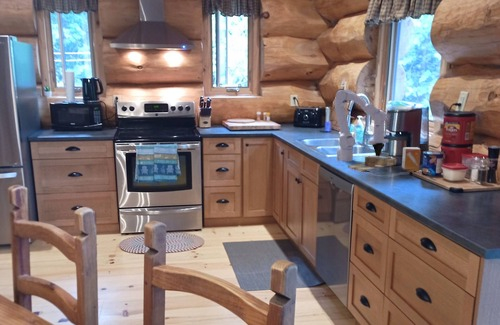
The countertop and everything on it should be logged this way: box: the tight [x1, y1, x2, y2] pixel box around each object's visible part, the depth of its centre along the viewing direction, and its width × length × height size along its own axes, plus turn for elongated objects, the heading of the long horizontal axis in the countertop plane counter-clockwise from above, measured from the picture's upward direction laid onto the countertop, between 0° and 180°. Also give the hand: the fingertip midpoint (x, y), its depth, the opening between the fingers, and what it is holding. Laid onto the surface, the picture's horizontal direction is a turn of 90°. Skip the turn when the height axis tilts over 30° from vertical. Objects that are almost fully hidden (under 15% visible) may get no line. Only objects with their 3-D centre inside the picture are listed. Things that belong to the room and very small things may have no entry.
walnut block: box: [364, 155, 375, 167], centre depth 257 cm, size 4×4×6 cm
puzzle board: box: [347, 155, 397, 173], centre depth 258 cm, size 13×25×5 cm, turn 121°
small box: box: [401, 146, 421, 173], centre depth 249 cm, size 8×6×13 cm
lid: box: [371, 151, 392, 159], centre depth 261 cm, size 8×7×3 cm
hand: (377, 156), depth 260 cm, fingers closed
